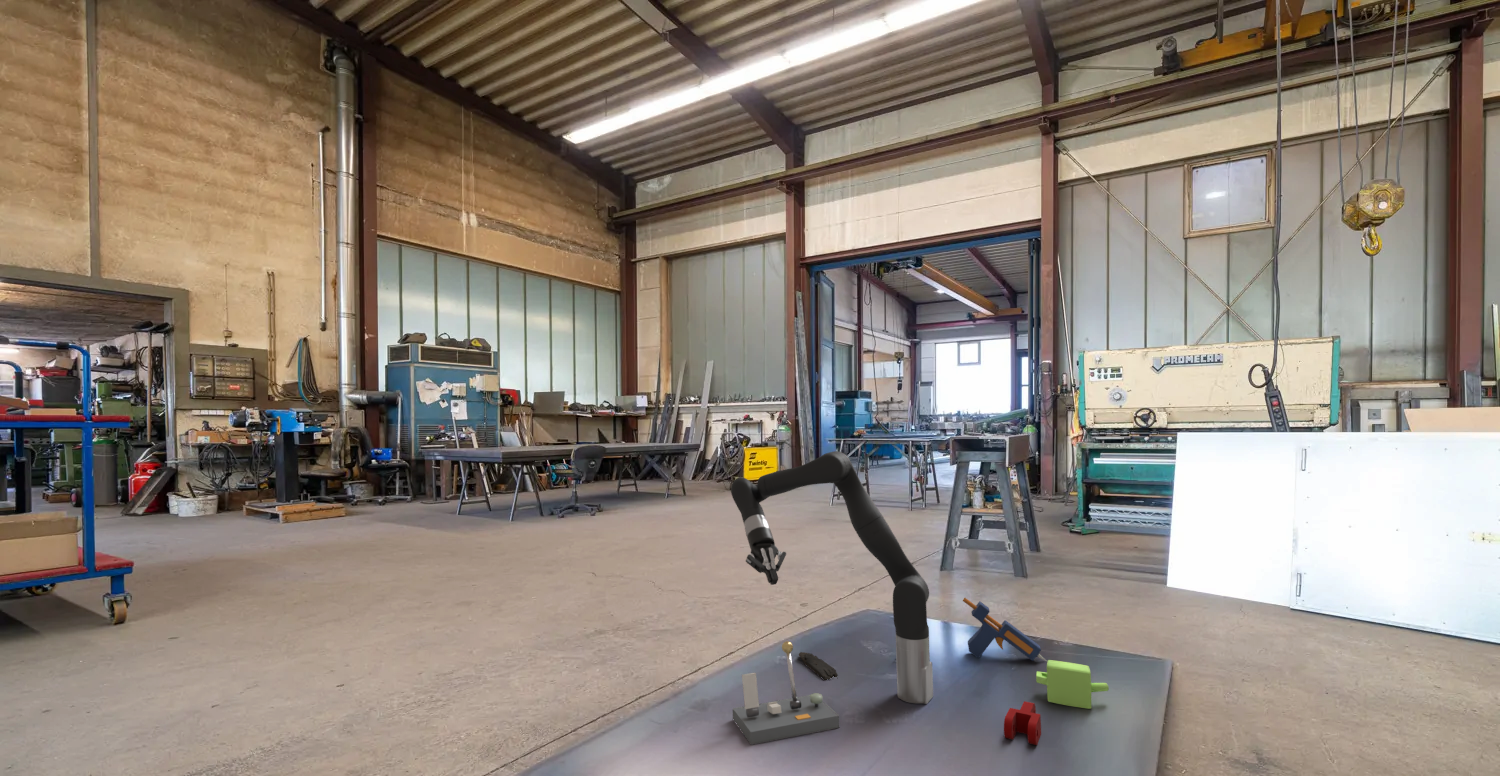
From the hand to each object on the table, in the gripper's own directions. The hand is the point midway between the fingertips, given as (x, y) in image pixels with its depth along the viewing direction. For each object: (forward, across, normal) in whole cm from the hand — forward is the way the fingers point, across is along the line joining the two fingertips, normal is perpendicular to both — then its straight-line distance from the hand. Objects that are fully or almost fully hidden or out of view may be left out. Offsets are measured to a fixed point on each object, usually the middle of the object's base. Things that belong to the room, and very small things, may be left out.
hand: (774, 583), depth 183 cm
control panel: (+34, -4, +12) cm, 36 cm away
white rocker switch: (+31, -7, +9) cm, 33 cm away
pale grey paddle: (+31, -13, +9) cm, 34 cm away
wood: (+12, +21, +35) cm, 42 cm away
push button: (+32, +5, +10) cm, 33 cm away
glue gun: (+22, +82, +23) cm, 88 cm away
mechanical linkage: (+52, +51, -6) cm, 73 cm away
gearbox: (+45, +76, 0) cm, 88 cm away
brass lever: (+31, -1, +9) cm, 32 cm away
